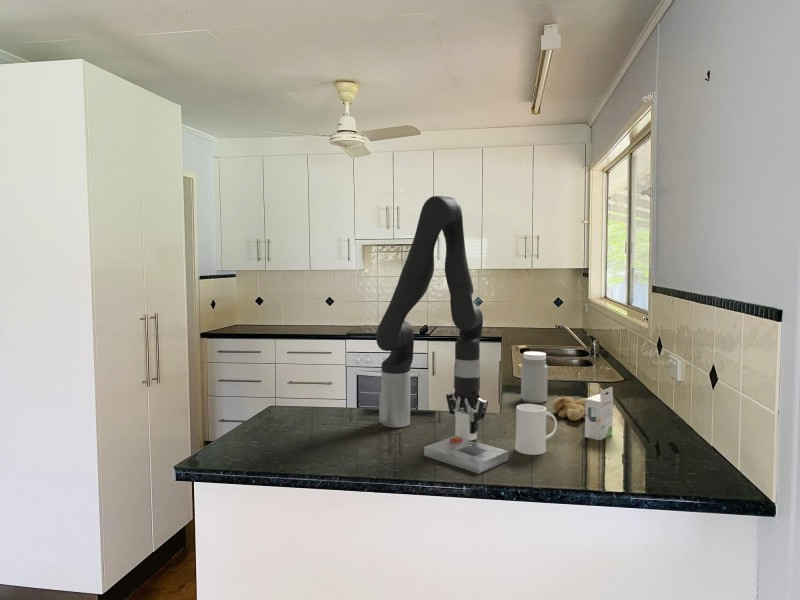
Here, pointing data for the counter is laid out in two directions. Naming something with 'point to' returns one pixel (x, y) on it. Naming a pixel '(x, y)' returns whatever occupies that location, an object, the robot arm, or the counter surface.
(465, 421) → the plug
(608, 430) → the ink box
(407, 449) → the counter surface
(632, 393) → the counter surface
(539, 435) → the mug
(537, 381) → the jar
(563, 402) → the ginger root
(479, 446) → the socket plate
